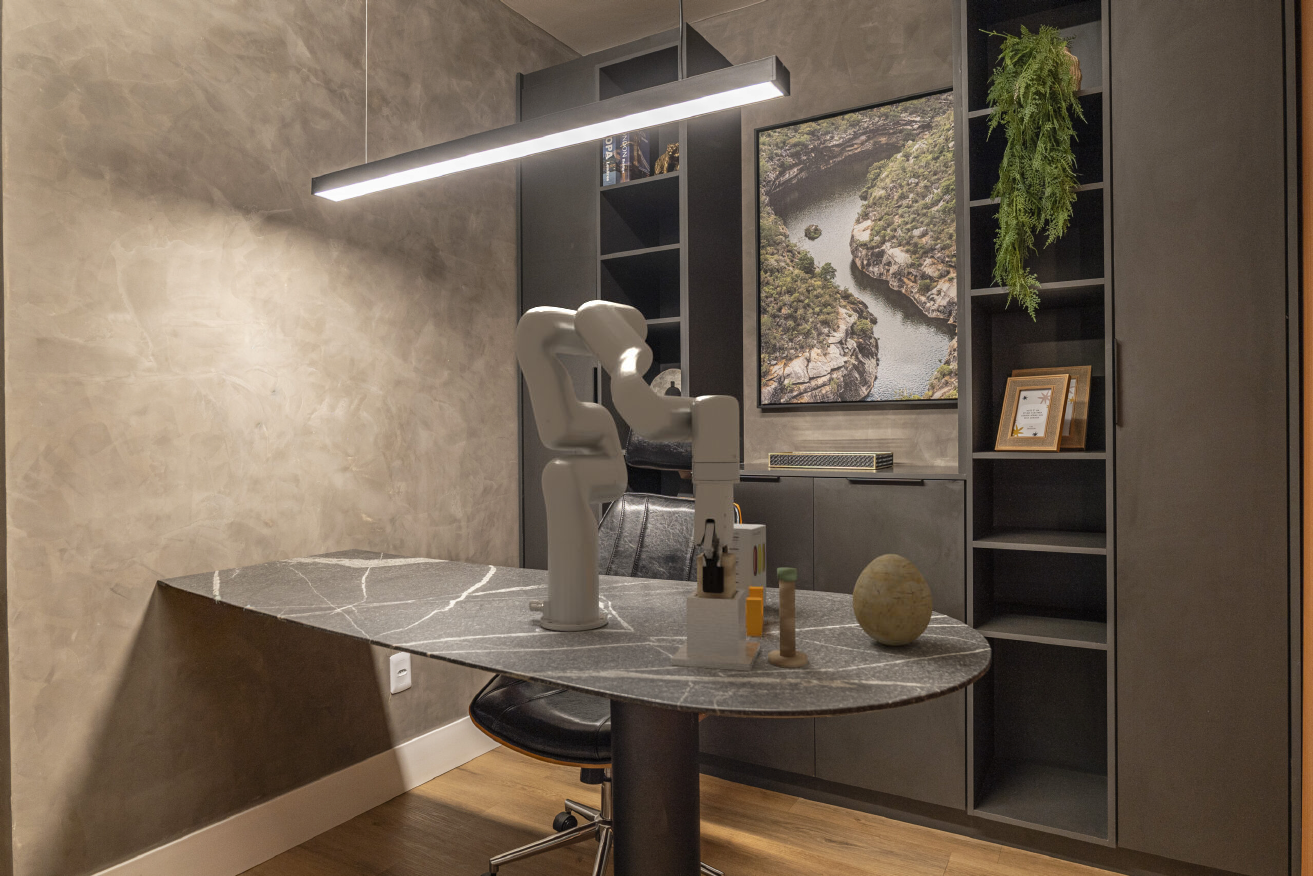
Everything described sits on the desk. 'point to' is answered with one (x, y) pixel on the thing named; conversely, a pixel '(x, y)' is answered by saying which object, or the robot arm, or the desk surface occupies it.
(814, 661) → the desk surface
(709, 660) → the sleeve
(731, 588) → the column
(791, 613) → the marker post
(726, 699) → the desk surface
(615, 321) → the robot arm
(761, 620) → the pipe clamp
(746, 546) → the supplement box
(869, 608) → the fossilized egg
